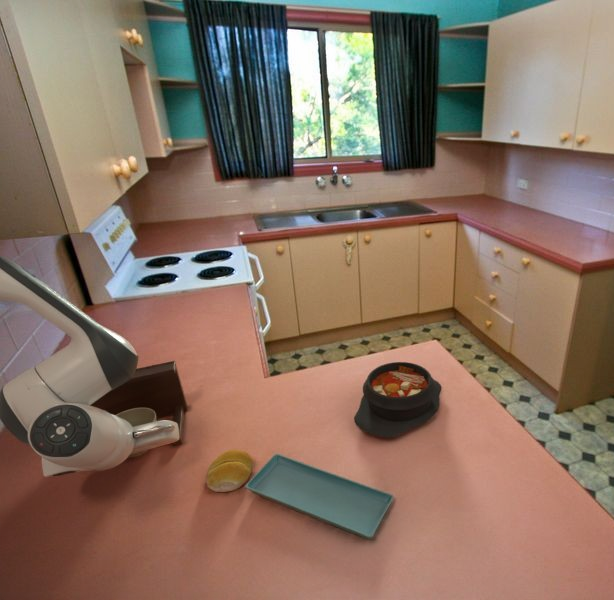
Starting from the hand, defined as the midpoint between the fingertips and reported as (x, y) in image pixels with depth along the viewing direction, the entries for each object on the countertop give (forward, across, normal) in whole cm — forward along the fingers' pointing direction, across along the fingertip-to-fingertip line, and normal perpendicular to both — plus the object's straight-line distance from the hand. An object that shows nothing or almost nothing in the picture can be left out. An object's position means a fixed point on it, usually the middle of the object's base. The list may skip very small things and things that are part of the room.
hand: (129, 449), depth 84 cm
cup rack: (+10, 0, -3) cm, 10 cm away
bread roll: (-4, -18, +11) cm, 21 cm away
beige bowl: (+7, 0, 0) cm, 7 cm away
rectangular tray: (-13, -32, +20) cm, 40 cm away
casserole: (0, -56, +7) cm, 56 cm away
